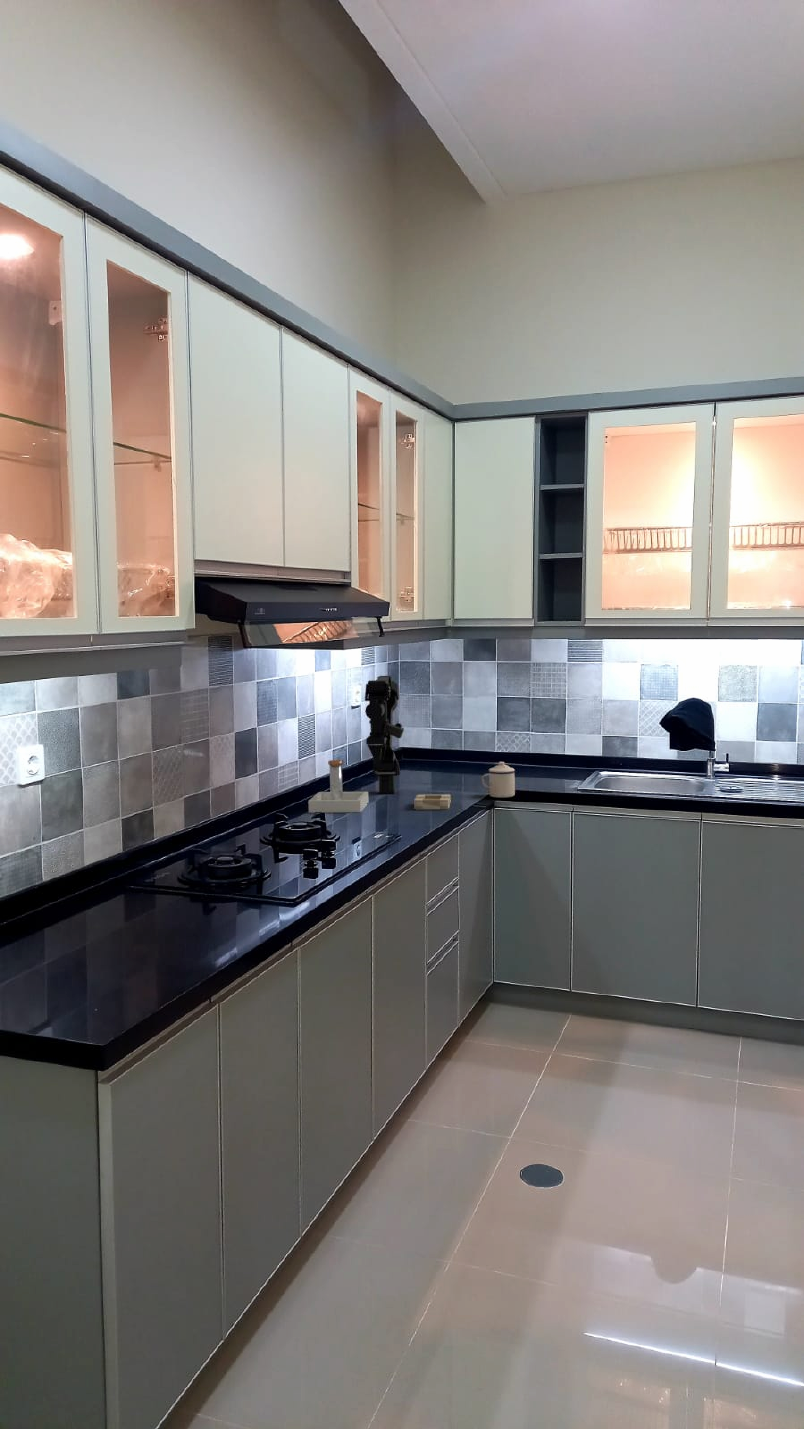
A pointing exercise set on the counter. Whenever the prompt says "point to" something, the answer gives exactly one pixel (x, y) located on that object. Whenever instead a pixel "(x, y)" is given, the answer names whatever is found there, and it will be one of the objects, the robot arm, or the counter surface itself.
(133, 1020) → the counter surface
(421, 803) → the block
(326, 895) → the counter surface
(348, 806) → the tray
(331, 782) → the metal pin
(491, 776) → the teacup with lid
